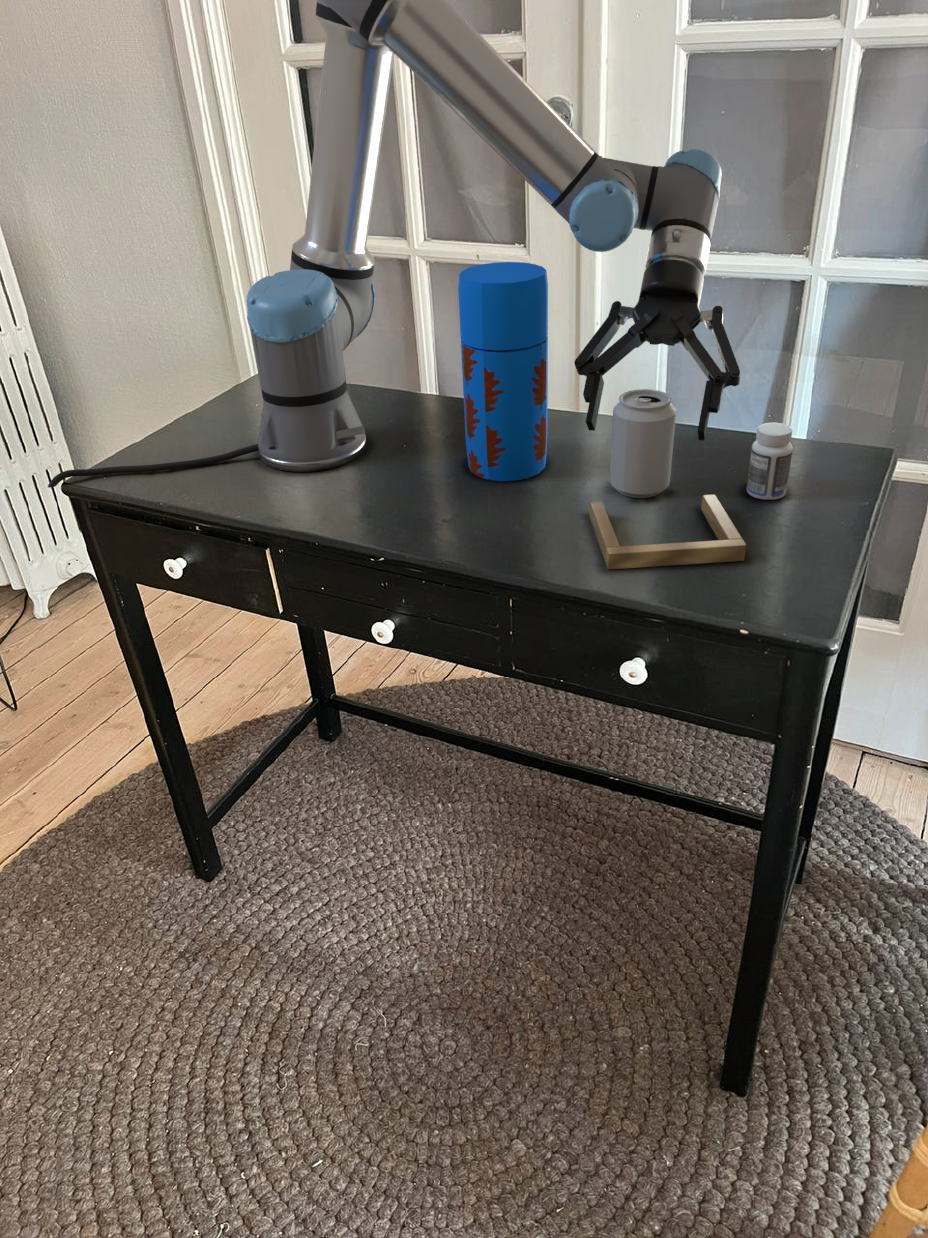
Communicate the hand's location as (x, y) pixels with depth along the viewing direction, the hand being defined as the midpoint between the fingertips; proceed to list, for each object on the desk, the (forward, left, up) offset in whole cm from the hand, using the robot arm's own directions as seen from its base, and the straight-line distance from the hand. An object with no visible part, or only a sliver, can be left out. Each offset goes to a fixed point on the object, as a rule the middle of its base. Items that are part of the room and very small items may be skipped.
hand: (644, 431), depth 112 cm
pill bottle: (+15, -4, -8) cm, 17 cm away
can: (0, 0, -8) cm, 8 cm away
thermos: (-16, +9, -8) cm, 20 cm away
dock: (0, -13, -7) cm, 15 cm away
